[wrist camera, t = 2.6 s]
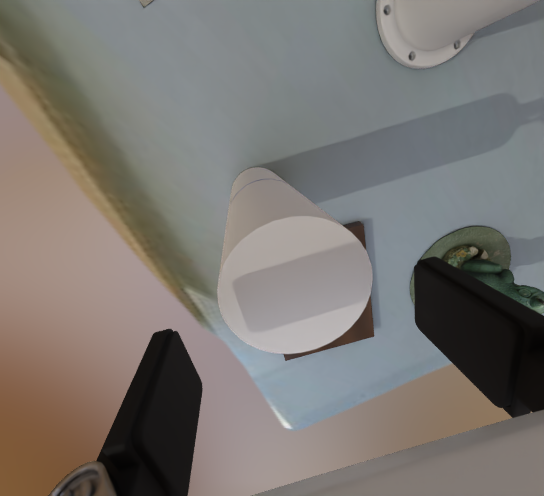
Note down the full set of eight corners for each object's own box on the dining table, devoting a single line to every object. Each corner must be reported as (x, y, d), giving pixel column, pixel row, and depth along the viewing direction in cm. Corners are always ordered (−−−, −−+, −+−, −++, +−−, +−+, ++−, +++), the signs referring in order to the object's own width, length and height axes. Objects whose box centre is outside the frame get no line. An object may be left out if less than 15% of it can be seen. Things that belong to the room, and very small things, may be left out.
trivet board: (359, 221, 38) (363, 224, 37) (370, 330, 46) (374, 336, 45) (254, 249, 38) (254, 253, 36) (284, 354, 46) (285, 361, 44)
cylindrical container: (294, 189, 35) (403, 275, 12) (262, 230, 37) (304, 373, 14) (252, 155, 33) (287, 179, 10) (220, 199, 34) (184, 310, 11)
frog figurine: (487, 318, 48) (557, 367, 38) (398, 320, 46) (447, 373, 35) (526, 227, 42) (625, 255, 31) (426, 224, 40) (495, 254, 29)
